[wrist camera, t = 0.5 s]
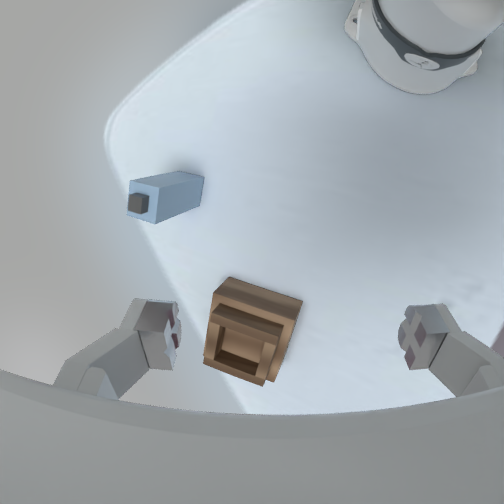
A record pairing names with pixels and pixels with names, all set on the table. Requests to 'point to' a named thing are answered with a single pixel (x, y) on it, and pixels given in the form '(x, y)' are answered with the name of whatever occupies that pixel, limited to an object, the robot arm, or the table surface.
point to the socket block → (249, 330)
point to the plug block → (164, 196)
